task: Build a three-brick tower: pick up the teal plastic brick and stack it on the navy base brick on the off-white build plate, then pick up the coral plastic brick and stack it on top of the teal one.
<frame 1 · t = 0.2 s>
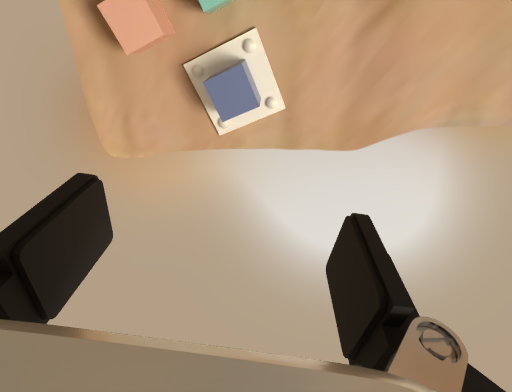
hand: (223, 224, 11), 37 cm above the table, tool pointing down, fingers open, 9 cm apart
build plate: (236, 86, 42), on the table
coral brick: (146, 20, 38), on the table
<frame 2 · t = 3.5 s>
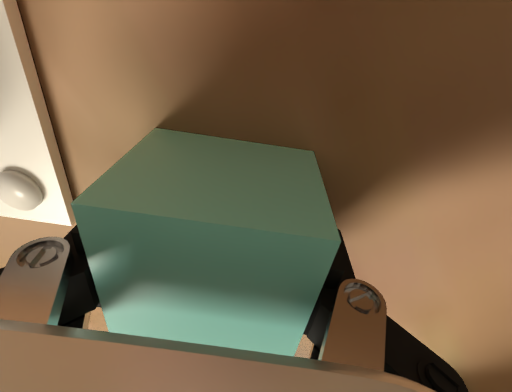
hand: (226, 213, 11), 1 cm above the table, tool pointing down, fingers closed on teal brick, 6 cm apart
teal brick: (228, 204, 12), on the table, touching gripper
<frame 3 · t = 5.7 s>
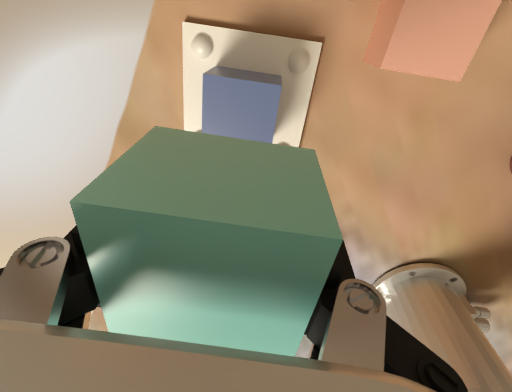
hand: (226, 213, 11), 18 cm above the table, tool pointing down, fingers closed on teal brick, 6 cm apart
teal brick: (229, 203, 12), point 17 cm above the table, touching gripper
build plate: (245, 103, 26), on the table
coral brick: (410, 27, 22), on the table
when the fingers open (8 cm above the table, at t = 8.2 s): teal brick drops 1 cm, resting on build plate.
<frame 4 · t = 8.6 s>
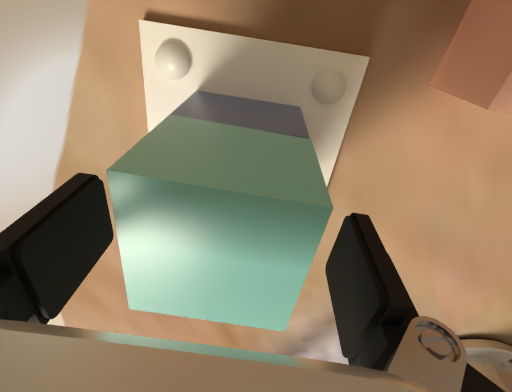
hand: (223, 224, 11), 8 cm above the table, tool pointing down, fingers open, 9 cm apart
teal brick: (233, 187, 13), point 5 cm above the table, touching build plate
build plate: (243, 144, 18), on the table
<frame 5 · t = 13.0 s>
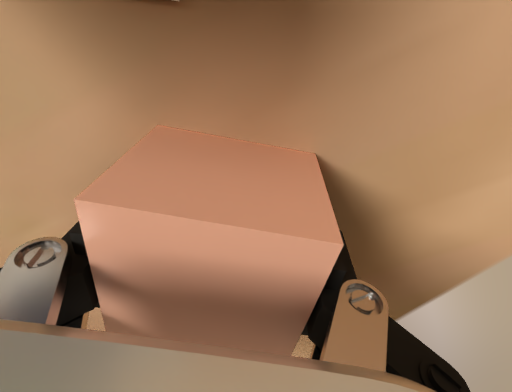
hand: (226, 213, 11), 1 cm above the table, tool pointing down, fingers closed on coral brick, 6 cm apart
coral brick: (228, 203, 12), on the table, touching gripper
when the fingers open (13 cm above the table, at t = 17.9 s): coral brick drops 1 cm, resting on teal brick.
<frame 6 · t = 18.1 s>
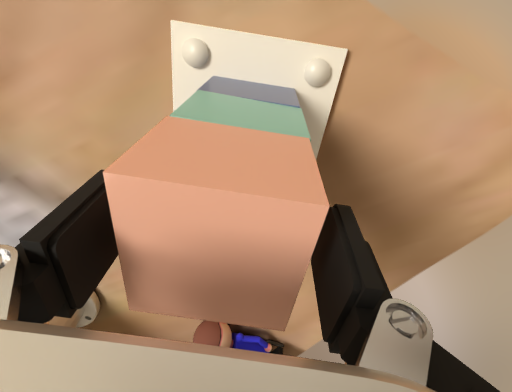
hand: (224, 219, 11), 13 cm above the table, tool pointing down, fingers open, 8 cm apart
teal brick: (243, 147, 17), point 5 cm above the table, touching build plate, coral brick
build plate: (249, 120, 22), on the table
coral brick: (231, 187, 13), point 10 cm above the table, touching teal brick
figurine character: (247, 333, 39), on the table
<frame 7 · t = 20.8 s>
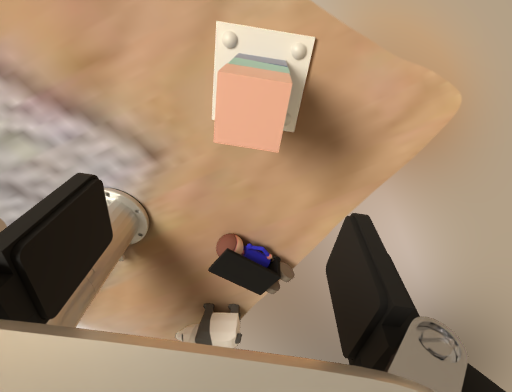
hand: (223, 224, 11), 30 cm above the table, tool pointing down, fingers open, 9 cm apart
teal brick: (257, 90, 31), point 5 cm above the table, touching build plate, coral brick
giant panda: (216, 309, 64), on the table
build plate: (259, 81, 36), on the table
coral brick: (254, 100, 27), point 10 cm above the table, touching teal brick
figurine character: (254, 249, 53), on the table
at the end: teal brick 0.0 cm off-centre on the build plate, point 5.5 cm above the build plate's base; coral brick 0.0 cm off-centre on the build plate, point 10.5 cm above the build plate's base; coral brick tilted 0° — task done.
